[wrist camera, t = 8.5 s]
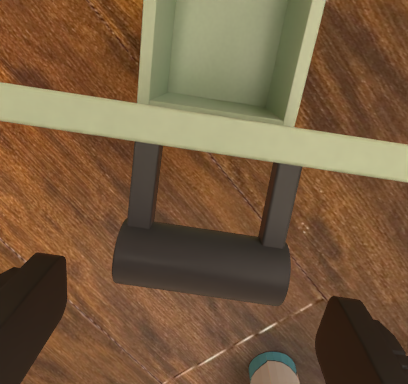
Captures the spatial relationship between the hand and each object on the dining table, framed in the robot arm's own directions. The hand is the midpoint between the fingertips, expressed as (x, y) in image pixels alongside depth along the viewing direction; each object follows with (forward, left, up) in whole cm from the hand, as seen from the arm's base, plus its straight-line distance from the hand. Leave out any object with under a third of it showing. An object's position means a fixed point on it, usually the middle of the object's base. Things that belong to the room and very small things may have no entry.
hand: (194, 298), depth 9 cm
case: (-10, -4, -26) cm, 28 cm away
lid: (-4, -1, -7) cm, 8 cm away
